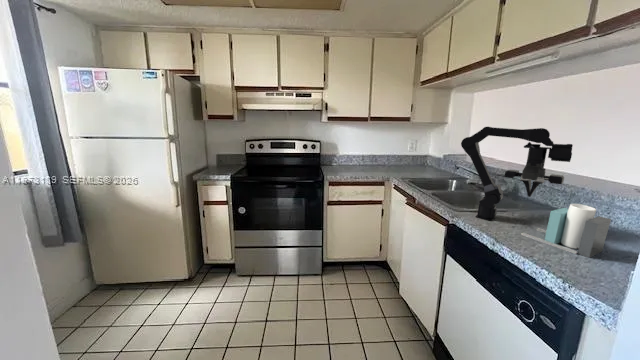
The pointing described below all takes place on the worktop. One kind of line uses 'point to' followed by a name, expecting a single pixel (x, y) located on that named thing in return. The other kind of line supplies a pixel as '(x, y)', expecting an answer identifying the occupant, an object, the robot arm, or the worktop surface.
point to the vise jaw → (556, 225)
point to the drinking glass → (576, 224)
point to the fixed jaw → (585, 237)
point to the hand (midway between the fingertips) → (529, 196)
